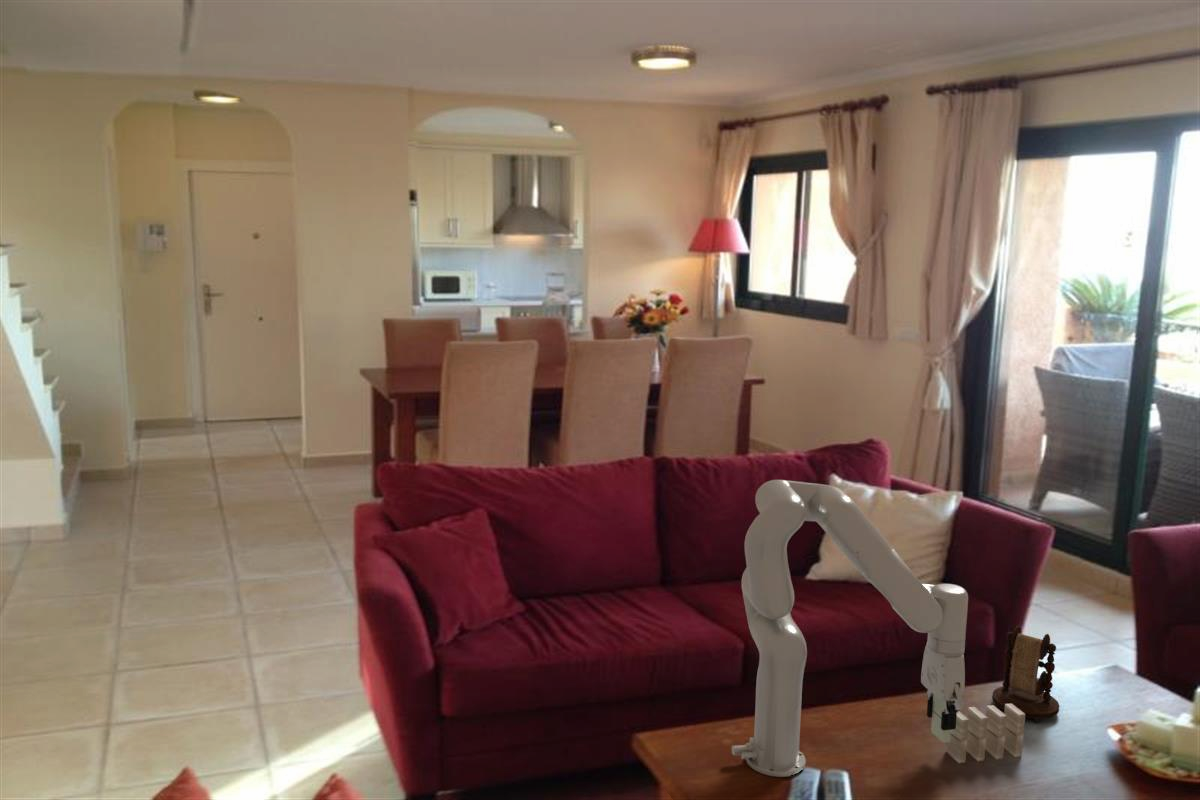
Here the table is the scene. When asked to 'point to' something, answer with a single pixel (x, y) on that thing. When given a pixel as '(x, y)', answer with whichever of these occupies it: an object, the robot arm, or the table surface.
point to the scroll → (1027, 676)
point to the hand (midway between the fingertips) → (941, 721)
